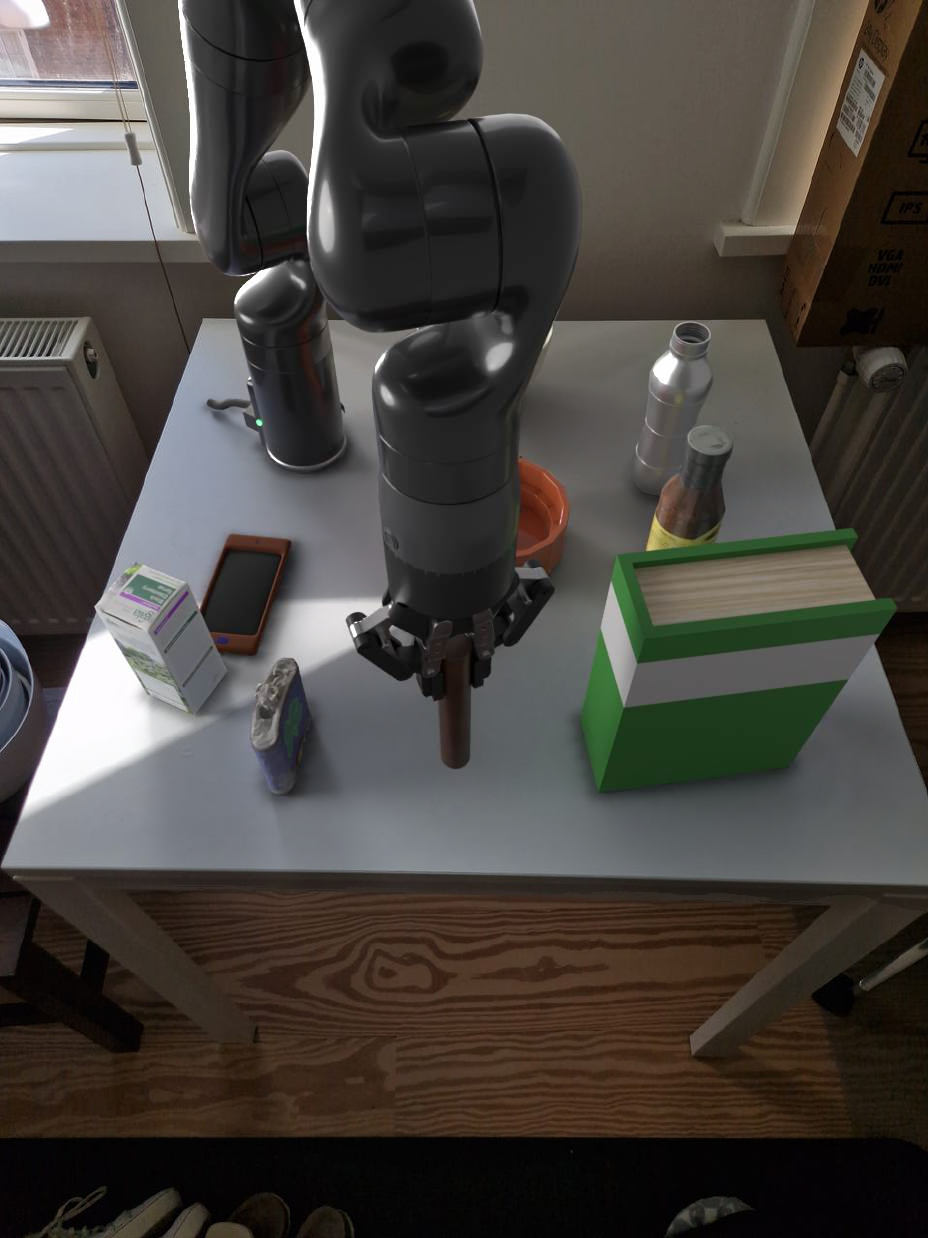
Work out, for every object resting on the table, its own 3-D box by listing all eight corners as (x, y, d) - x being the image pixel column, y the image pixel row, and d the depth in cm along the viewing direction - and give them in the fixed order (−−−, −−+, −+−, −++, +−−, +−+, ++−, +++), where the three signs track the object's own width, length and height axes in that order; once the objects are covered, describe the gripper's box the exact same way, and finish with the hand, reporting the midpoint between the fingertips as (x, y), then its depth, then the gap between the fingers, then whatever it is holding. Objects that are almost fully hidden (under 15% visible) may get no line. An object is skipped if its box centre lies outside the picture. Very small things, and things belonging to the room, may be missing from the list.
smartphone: (184, 645, 84) (227, 531, 92) (186, 650, 84) (229, 537, 93) (254, 652, 83) (291, 537, 92) (256, 658, 84) (293, 543, 93)
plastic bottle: (619, 493, 97) (650, 345, 81) (635, 455, 101) (668, 306, 85) (675, 509, 96) (717, 361, 80) (689, 469, 100) (732, 320, 83)
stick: (434, 759, 69) (428, 648, 56) (452, 737, 70) (449, 624, 57) (459, 774, 68) (457, 666, 55) (476, 752, 69) (478, 641, 56)
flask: (292, 798, 75) (270, 740, 67) (260, 794, 76) (233, 736, 67) (315, 708, 81) (297, 644, 72) (285, 704, 81) (263, 640, 72)
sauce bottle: (696, 615, 87) (748, 474, 71) (634, 605, 88) (672, 463, 72) (698, 566, 91) (748, 422, 75) (640, 557, 92) (677, 413, 76)
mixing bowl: (405, 556, 92) (401, 518, 87) (478, 477, 99) (479, 438, 94) (518, 616, 87) (521, 580, 82) (587, 529, 94) (594, 491, 89)
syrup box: (229, 671, 83) (191, 578, 72) (194, 719, 80) (147, 630, 68) (181, 650, 85) (135, 556, 73) (144, 697, 82) (90, 606, 70)
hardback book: (760, 697, 82) (852, 527, 62) (788, 767, 77) (897, 608, 58) (579, 720, 80) (616, 554, 61) (598, 792, 76) (644, 638, 56)
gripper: (539, 441, 50) (522, 615, 64) (308, 503, 47) (344, 671, 61) (595, 530, 46) (565, 696, 60) (346, 604, 43) (375, 760, 57)
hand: (453, 683), depth 60 cm, fingers closed on stick, 2 cm apart
